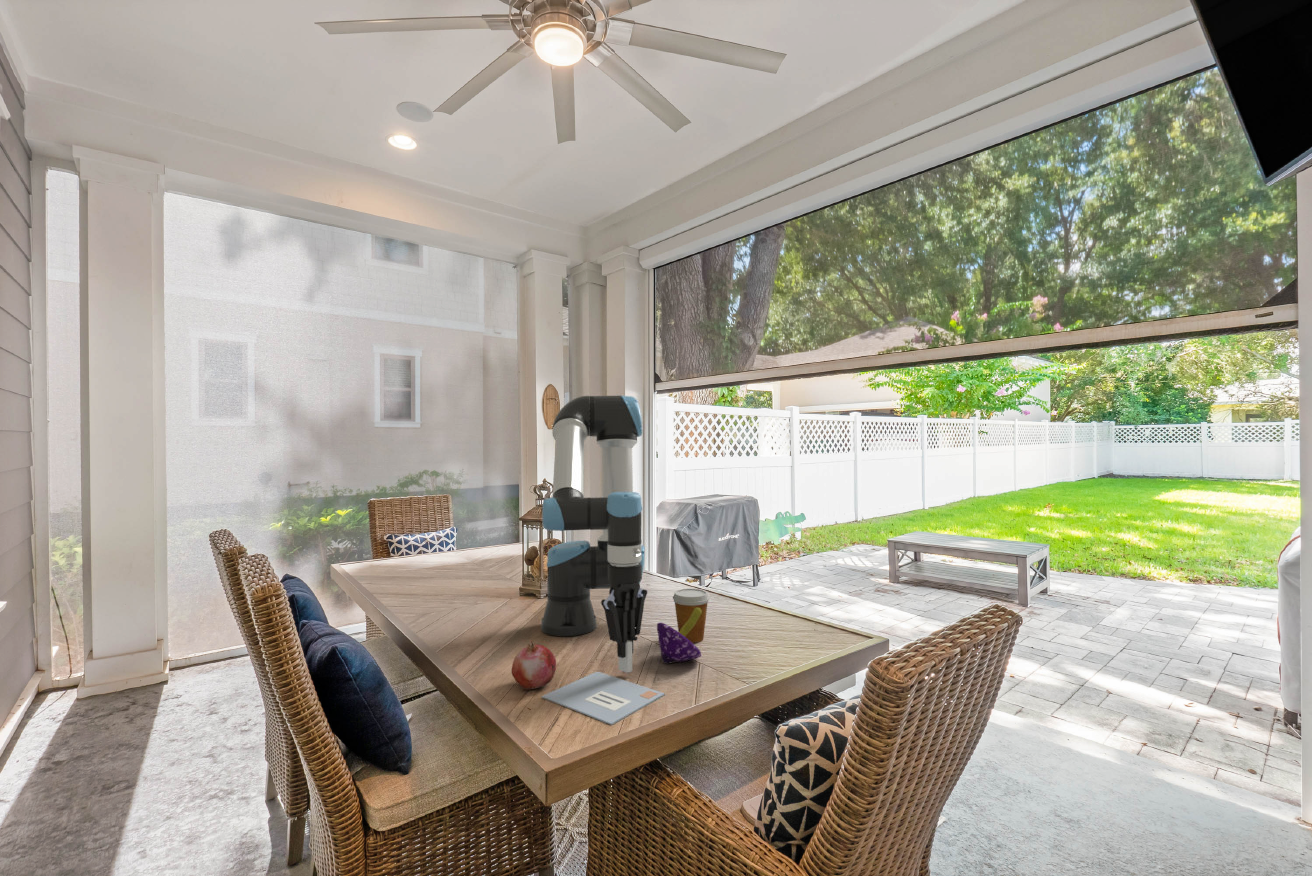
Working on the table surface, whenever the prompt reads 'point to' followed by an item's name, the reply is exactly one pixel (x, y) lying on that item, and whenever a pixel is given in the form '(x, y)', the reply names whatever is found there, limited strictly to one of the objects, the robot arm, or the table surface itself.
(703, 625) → the disposable coffee cup
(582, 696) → the letter
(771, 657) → the table surface
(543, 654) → the fruit
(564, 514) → the robot arm
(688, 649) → the decorative mushroom
